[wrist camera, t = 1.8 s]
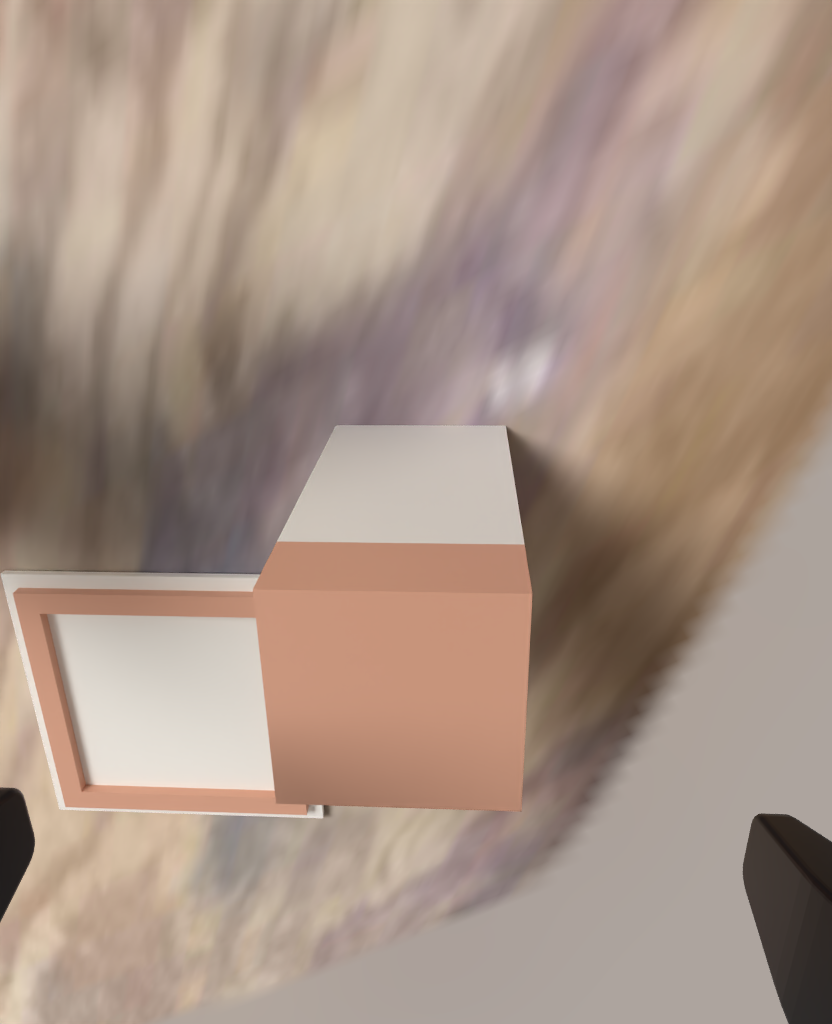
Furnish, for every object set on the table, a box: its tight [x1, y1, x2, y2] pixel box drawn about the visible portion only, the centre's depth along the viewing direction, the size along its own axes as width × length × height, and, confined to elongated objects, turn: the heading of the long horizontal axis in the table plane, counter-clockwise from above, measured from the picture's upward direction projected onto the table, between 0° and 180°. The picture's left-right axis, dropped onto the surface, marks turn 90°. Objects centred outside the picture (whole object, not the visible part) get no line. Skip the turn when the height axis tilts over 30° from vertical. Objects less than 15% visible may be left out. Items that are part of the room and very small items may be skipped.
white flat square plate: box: [1, 570, 324, 818], centre depth 22 cm, size 8×8×1 cm
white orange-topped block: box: [253, 425, 532, 811], centre depth 16 cm, size 4×4×8 cm
